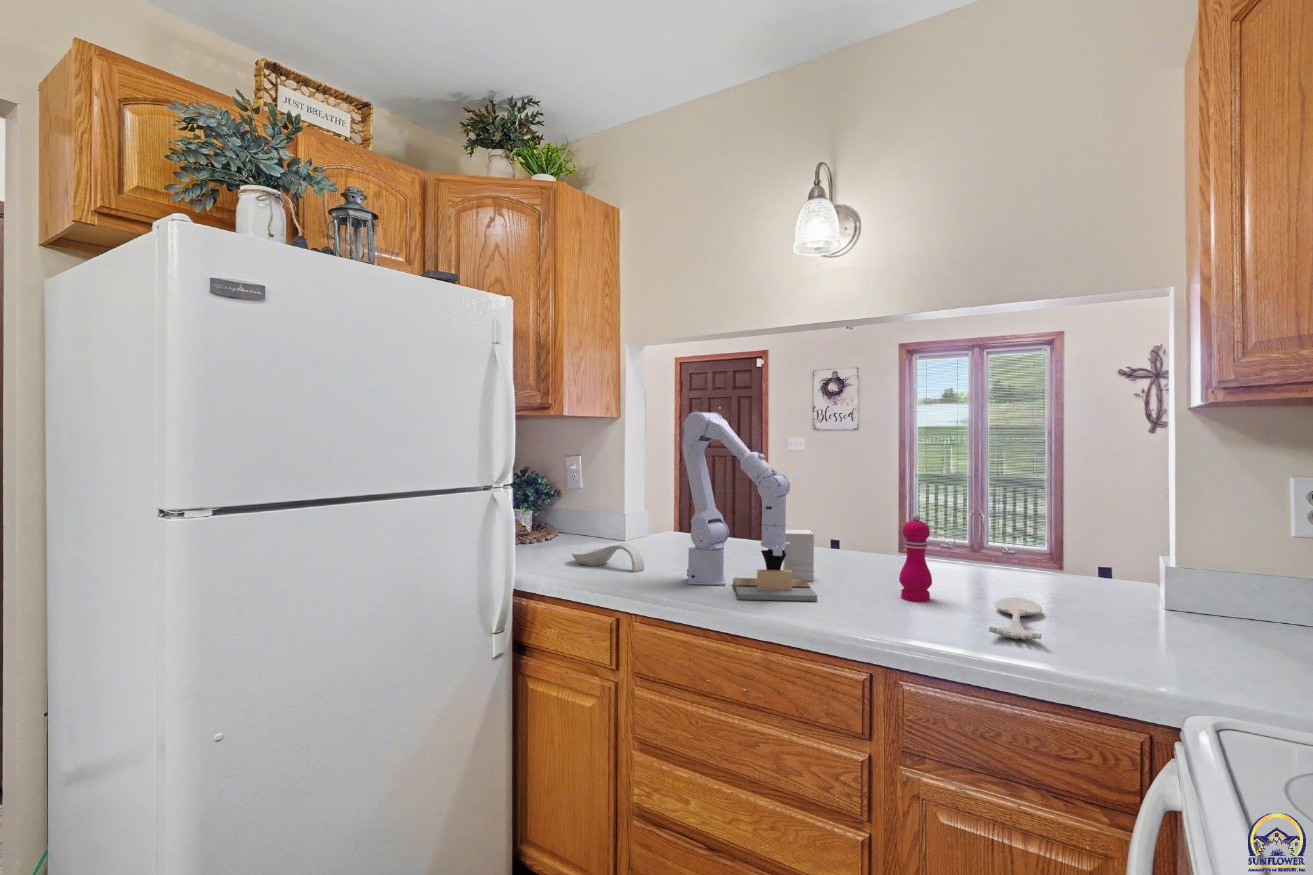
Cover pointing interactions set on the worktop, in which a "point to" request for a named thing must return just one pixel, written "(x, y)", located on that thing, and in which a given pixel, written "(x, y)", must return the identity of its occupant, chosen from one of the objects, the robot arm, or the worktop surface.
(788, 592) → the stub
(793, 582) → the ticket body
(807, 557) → the supplement box
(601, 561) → the spoon rest
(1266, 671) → the worktop surface
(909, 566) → the pepper mill
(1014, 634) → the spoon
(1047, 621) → the worktop surface
